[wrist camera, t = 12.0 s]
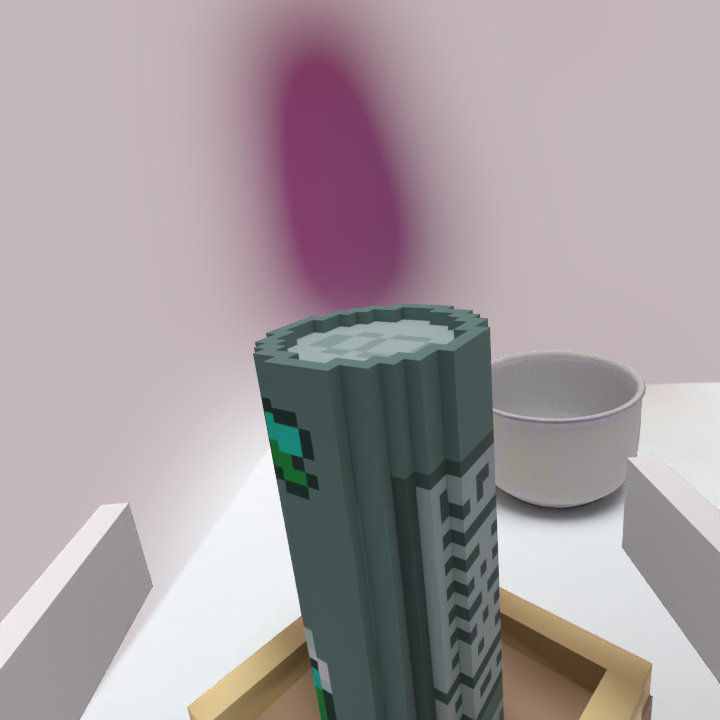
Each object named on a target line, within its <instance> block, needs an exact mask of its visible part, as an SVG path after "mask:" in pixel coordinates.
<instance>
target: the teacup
mask: <svg viewBox="0 0 720 720" xmlns="http://www.w3.org/2000/svg"><path fill="white" fill-rule="evenodd" d="M491 374H492V401H493V429H494V457H495V484H496V486H497V487H499V488H500V489H502V490H504V491H505V492H507V493H509V494H511V495H513V496H514V497H516V498H518V499H520V500H522V501H525V502H528V503H531V504H534V505H538V506H543V507H552V508H567V507H575V506H579V505H583V504H587V503H589V502H591V501H594V500H597V499H599V498H602V497H604V496H606V495H608V494H610V493H612V492H613V491H615V490H616V489H617V488H619V487H620V486H621V485H622V484H623V483H624V482H625V481H626V467H627V458H630V457H636V456H637V451H638V443H639V435H640V424H641V406H642V398H643V396H644V394H645V383H644V380H643V378H642V377H641V376H640V374H639V373H638V372H637V371H636V370H634V369H633V368H631V367H629V366H627V365H626V364H624V363H622V362H620V361H617V360H615V359H611V358H608V357H605V356H602V355H596V354H592V353H586V352H579V351H567V350H538V351H527V352H521V353H515V354H510V355H507V356H503V357H500V358H497V359H494V360H492V361H491Z"/></svg>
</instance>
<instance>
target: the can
mask: <svg viewBox="0 0 720 720" xmlns="http://www.w3.org/2000/svg"><path fill="white" fill-rule="evenodd" d="M266 335H267V338H265V339H262V340H259V341H257V342H255V344H256V347H254V349H255V353H254V354H253V356H254V360H255V366H256V371H257V377H258V382H259V387H260V393H261V399H262V404H263V409H264V415H265V420H266V425H267V431H268V436H269V442H270V447H271V453H272V458H273V463H274V469H275V474H276V480H277V485H278V490H279V496H280V501H281V506H282V512H283V517H284V523H285V528H286V533H287V539H288V544H289V550H290V555H291V560H292V566H293V571H294V577H295V582H296V587H297V593H298V598H299V603H300V609H301V614H302V620H303V625H304V630H305V636H306V641H307V647H308V652H309V657H310V663H311V668H312V674H313V679H314V684H315V690H316V695H317V700H318V706H319V711H320V717H321V720H504V706H503V678H502V651H501V623H500V595H499V567H498V540H497V512H496V484H495V457H494V429H493V401H492V374H491V349H490V348H491V347H490V327H488V319H487V318H480V314H473V312H472V310H458V309H457V310H456V309H454V306H444V305H417V304H396V305H394V306H391V307H388V306H369V307H366V308H364V309H359V308H353V309H351V310H348V311H335V312H332V313H329V314H327V315H324V316H322V317H317V316H311V317H308V318H305V319H303V320H300V321H297V322H295V323H292V324H290V325H287V326H284V327H281V328H279V329H276V330H273V331H271V332H268V333H266Z"/></svg>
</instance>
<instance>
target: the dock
mask: <svg viewBox="0 0 720 720" xmlns="http://www.w3.org/2000/svg"><path fill="white" fill-rule="evenodd" d="M499 595H500V623H501V651H502V678H503V706H504V720H651V708H652V696H651V695H650V682H651V670H652V663H650V662H648V661H646V660H644V659H642V658H640V657H638V656H636V655H634V654H632V653H630V652H628V651H626V650H624V649H622V648H620V647H618V646H616V645H614V644H612V643H610V642H608V641H606V640H604V639H602V638H600V637H598V636H596V635H594V634H592V633H590V632H588V631H586V630H584V629H582V628H580V627H578V626H576V625H574V624H572V623H570V622H568V621H566V620H564V619H562V618H560V617H558V616H556V615H554V614H552V613H550V612H548V611H546V610H544V609H542V608H540V607H538V606H536V605H534V604H532V603H530V602H528V601H526V600H524V599H522V598H520V597H518V596H516V595H514V594H512V593H510V592H508V591H506V590H504V589H502V588H500V587H499ZM187 709H188V712H189V716H190V719H191V720H321V717H320V711H319V706H318V700H317V695H316V690H315V684H314V679H313V674H312V668H311V663H310V657H309V652H308V647H307V641H306V636H305V630H304V625H303V620H302V616H300V617H299V618H298V619H297V620H295V621H294V622H293V623H292V624H290V625H289V626H288V627H287V628H285V629H284V630H283V631H282V632H280V633H279V634H278V635H277V636H275V637H274V638H273V639H272V640H270V641H269V642H268V643H267V644H265V645H264V646H263V647H262V648H260V649H259V650H258V651H257V652H255V653H254V654H253V655H252V656H250V657H249V658H248V659H247V660H245V661H244V662H243V663H242V664H240V665H239V666H238V667H237V668H235V669H234V670H233V671H232V672H230V673H229V674H228V675H227V676H226V677H224V678H223V679H222V680H221V681H219V682H218V683H217V684H216V685H214V686H213V687H212V688H211V689H209V690H208V691H207V692H206V693H204V694H203V695H202V696H201V697H199V698H198V699H197V700H196V701H194V702H193V703H192V704H191V705H189V706H188V707H187Z"/></svg>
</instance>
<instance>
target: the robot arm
mask: <svg viewBox="0 0 720 720" xmlns="http://www.w3.org/2000/svg"><path fill="white" fill-rule="evenodd" d="M622 548H623V549H624V551H625V552H626V554H627V555H628V556H629V558H630V559H631V561H632V562H633V563H634V565H635V566H636V568H637V569H638V570H639V572H640V573H641V574H642V576H643V577H644V579H645V580H646V581H647V583H648V584H649V586H650V587H651V588H652V590H653V591H654V593H655V594H656V595H657V597H658V598H659V600H660V601H661V602H662V604H663V605H664V607H665V608H666V609H667V611H668V612H669V613H670V615H671V616H672V618H673V619H674V620H675V622H676V623H677V625H678V626H679V627H680V629H681V630H682V632H683V633H684V634H685V636H686V637H687V639H688V640H689V641H690V643H691V644H692V646H693V647H694V648H695V650H696V651H697V652H698V654H699V655H700V657H701V658H702V659H703V661H704V662H705V664H706V665H707V666H708V668H709V669H710V671H711V672H712V673H713V675H714V676H715V678H716V679H717V680H718V682H719V683H720V511H719V510H718V509H717V508H716V507H715V506H713V505H712V504H711V503H710V502H709V501H708V500H707V499H706V498H705V497H703V496H702V495H701V494H700V493H699V492H698V491H697V490H696V489H695V488H694V487H692V486H691V485H690V484H689V483H688V482H687V481H686V480H685V479H684V478H682V477H681V476H680V475H679V474H678V473H677V472H676V471H675V470H674V469H673V468H671V467H670V466H669V465H668V464H667V463H666V462H665V461H664V460H663V459H661V458H660V457H659V456H658V455H652V456H641V457H630V458H627V467H626V486H625V504H624V523H623V541H622ZM152 587H153V585H152V581H151V578H150V574H149V571H148V567H147V564H146V560H145V557H144V553H143V550H142V547H141V543H140V540H139V536H138V533H137V529H136V526H135V522H134V519H133V515H132V512H131V509H130V505H129V503H120V504H108V505H101V506H100V507H99V508H98V509H97V511H96V512H95V513H94V514H93V515H92V517H91V518H90V519H89V520H88V521H87V522H86V523H85V525H84V526H83V527H82V528H81V529H80V531H79V532H78V533H77V534H76V535H75V536H74V538H73V539H72V540H71V541H70V542H69V543H68V545H67V546H66V547H65V548H64V549H63V551H62V552H61V553H60V554H59V555H58V556H57V557H56V559H55V560H54V561H53V562H52V563H51V564H50V566H49V567H48V568H47V569H46V570H45V572H44V573H43V574H42V575H41V576H40V577H39V579H38V580H37V581H36V582H35V583H34V585H33V586H32V587H31V588H30V589H29V590H28V591H27V593H26V594H25V595H24V596H23V597H22V599H21V600H20V601H19V602H18V603H17V604H16V606H15V607H14V608H13V609H12V610H11V611H10V613H9V614H8V615H7V616H6V617H5V618H4V620H3V621H2V622H1V623H0V720H80V718H81V717H82V715H83V713H84V711H85V709H86V707H87V706H88V704H89V702H90V700H91V698H92V696H93V695H94V693H95V691H96V689H97V687H98V685H99V684H100V682H101V680H102V678H103V676H104V675H105V673H106V671H107V669H108V667H109V665H110V664H111V662H112V660H113V658H114V656H115V654H116V653H117V651H118V649H119V647H120V645H121V643H122V642H123V640H124V638H125V636H126V634H127V632H128V631H129V629H130V627H131V625H132V623H133V621H134V620H135V618H136V616H137V614H138V612H139V610H140V609H141V607H142V605H143V603H144V601H145V599H146V598H147V596H148V594H149V592H150V590H151V589H152Z"/></svg>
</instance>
